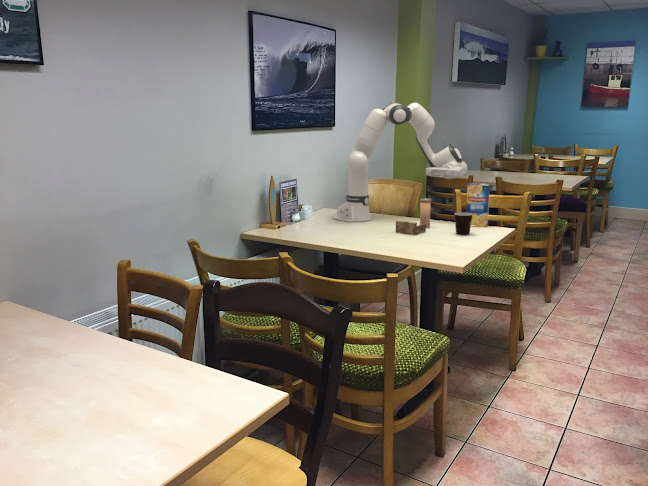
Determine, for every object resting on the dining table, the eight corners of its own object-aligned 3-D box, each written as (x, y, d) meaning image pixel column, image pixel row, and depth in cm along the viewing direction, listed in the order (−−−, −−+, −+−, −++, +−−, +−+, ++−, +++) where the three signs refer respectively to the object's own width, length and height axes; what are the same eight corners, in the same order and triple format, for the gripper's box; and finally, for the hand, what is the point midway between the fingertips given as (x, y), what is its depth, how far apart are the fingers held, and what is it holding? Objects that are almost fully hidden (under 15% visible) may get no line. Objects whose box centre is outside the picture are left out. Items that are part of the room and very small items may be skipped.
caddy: (395, 232, 275) (395, 220, 273) (406, 229, 282) (406, 217, 281) (415, 235, 268) (415, 223, 266) (425, 231, 275) (425, 220, 274)
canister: (417, 227, 286) (418, 199, 282) (422, 225, 290) (423, 198, 286) (427, 228, 282) (427, 200, 279) (432, 227, 286) (433, 198, 283)
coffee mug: (459, 231, 275) (460, 211, 272) (474, 233, 269) (475, 213, 266) (447, 235, 267) (447, 215, 265) (462, 237, 261) (463, 217, 259)
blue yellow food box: (487, 227, 283) (489, 185, 278) (465, 226, 287) (467, 184, 282) (487, 224, 290) (490, 183, 285) (466, 223, 293) (468, 183, 288)
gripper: (432, 164, 305) (420, 166, 294) (466, 166, 292) (454, 168, 282) (432, 175, 306) (420, 177, 296) (466, 177, 293) (454, 180, 283)
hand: (437, 173), depth 289 cm, fingers open, 8 cm apart
